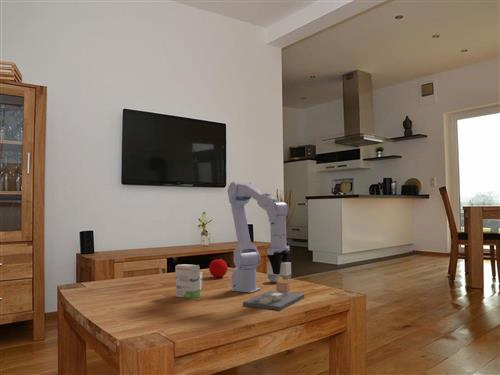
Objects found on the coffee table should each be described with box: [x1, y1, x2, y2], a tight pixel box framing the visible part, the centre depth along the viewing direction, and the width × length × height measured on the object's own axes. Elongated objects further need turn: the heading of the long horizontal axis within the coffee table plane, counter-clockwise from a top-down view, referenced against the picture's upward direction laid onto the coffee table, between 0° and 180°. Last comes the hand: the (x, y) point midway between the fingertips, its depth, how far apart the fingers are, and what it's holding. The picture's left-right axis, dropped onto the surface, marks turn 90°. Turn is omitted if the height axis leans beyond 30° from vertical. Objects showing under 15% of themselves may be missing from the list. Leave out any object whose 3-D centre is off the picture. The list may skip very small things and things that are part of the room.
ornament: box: [208, 256, 229, 278], centre depth 179 cm, size 9×9×10 cm
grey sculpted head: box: [266, 270, 281, 283], centre depth 165 cm, size 6×7×7 cm
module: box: [266, 261, 292, 281], centre depth 133 cm, size 8×4×6 cm, turn 60°
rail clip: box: [275, 281, 290, 292], centre depth 136 cm, size 4×2×3 cm, turn 59°
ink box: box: [174, 263, 201, 299], centre depth 140 cm, size 9×5×12 cm, turn 59°
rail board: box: [242, 290, 305, 311], centre depth 130 cm, size 14×20×3 cm
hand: (279, 273), depth 133 cm, fingers closed on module, 4 cm apart
